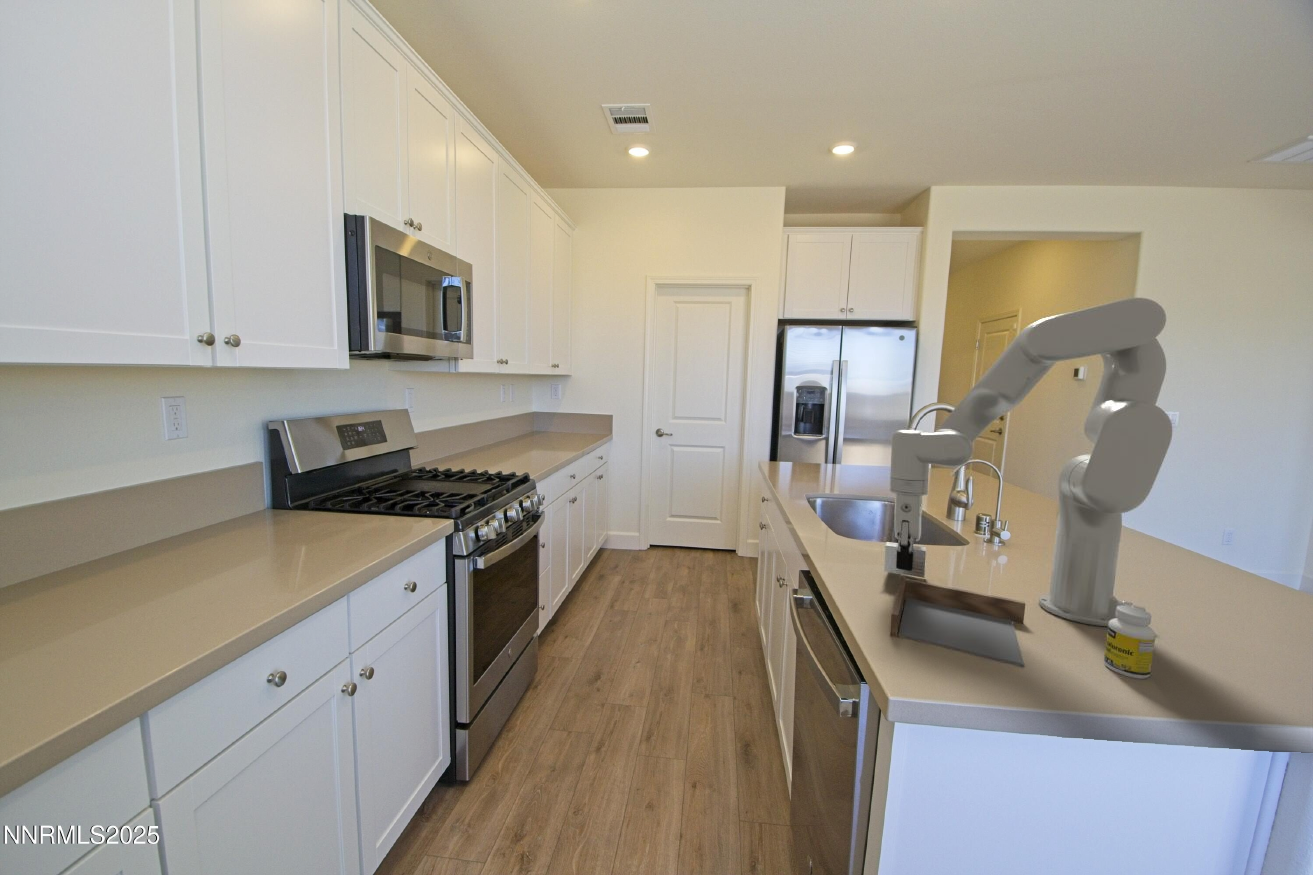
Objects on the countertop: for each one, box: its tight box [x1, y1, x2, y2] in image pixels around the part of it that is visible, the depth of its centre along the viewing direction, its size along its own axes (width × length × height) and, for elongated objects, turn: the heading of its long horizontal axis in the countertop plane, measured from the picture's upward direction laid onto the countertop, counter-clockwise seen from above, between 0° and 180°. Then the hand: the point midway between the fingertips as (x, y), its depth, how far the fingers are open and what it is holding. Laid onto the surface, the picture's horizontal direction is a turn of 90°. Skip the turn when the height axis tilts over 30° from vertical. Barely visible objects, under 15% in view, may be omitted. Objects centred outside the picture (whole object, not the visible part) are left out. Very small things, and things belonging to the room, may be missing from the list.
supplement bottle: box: [1103, 606, 1156, 680], centre depth 79 cm, size 5×5×10 cm
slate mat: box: [898, 598, 1025, 667], centre depth 92 cm, size 18×18×1 cm
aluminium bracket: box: [883, 541, 927, 578], centre depth 116 cm, size 8×9×6 cm
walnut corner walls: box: [889, 576, 1026, 638], centre depth 92 cm, size 21×21×4 cm
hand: (904, 566), depth 113 cm, fingers closed on aluminium bracket, 3 cm apart
